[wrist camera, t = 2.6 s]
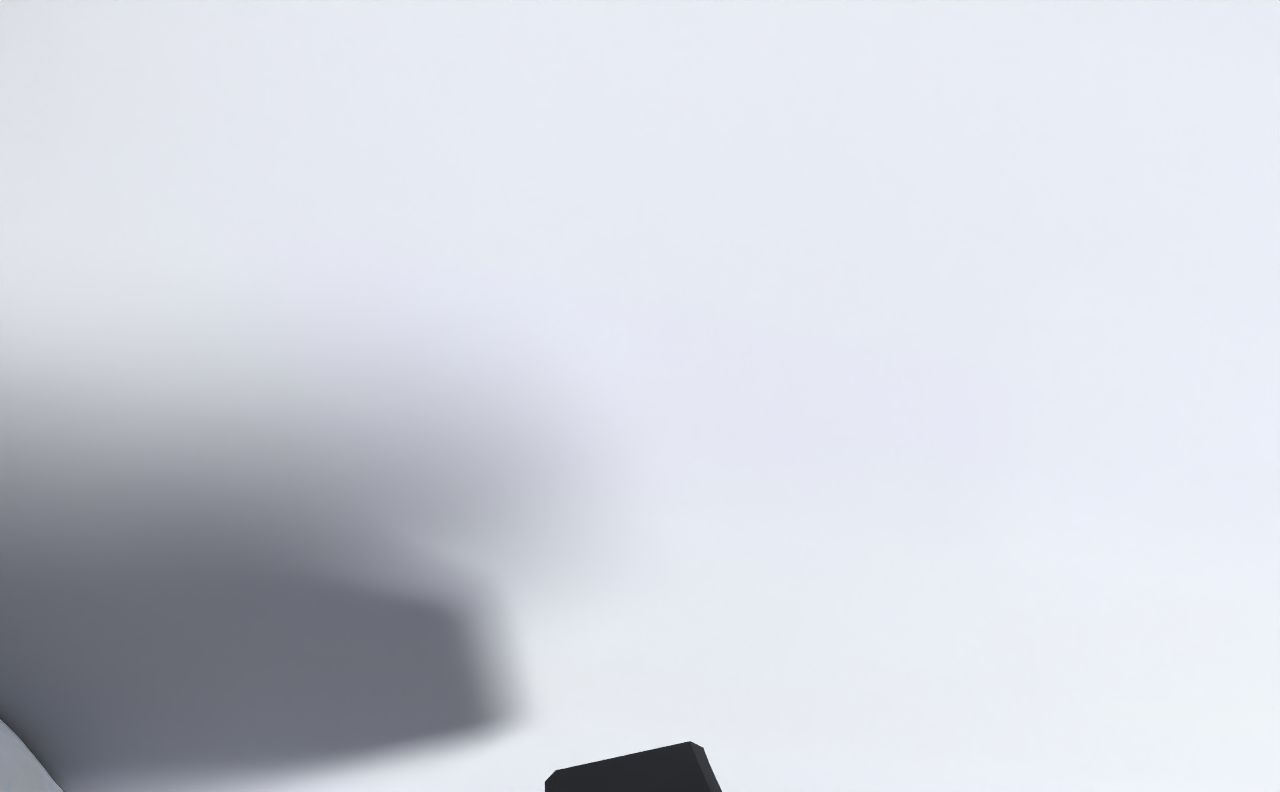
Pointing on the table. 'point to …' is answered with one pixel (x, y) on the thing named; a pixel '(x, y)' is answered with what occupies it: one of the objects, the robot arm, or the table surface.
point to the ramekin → (21, 766)
